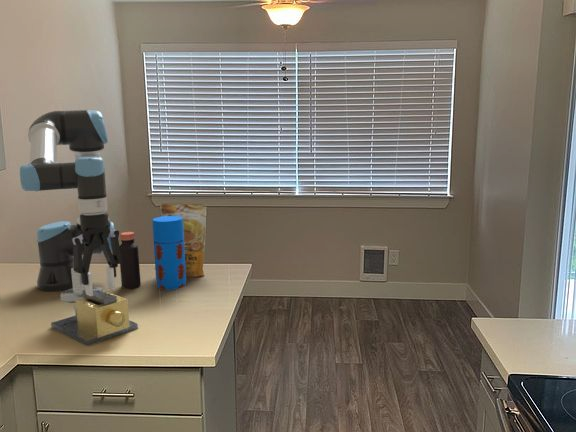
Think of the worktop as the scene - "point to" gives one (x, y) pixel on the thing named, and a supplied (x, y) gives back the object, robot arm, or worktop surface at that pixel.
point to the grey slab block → (101, 298)
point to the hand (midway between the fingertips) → (100, 291)
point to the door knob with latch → (93, 316)
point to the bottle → (129, 261)
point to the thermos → (169, 252)
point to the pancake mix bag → (191, 233)
